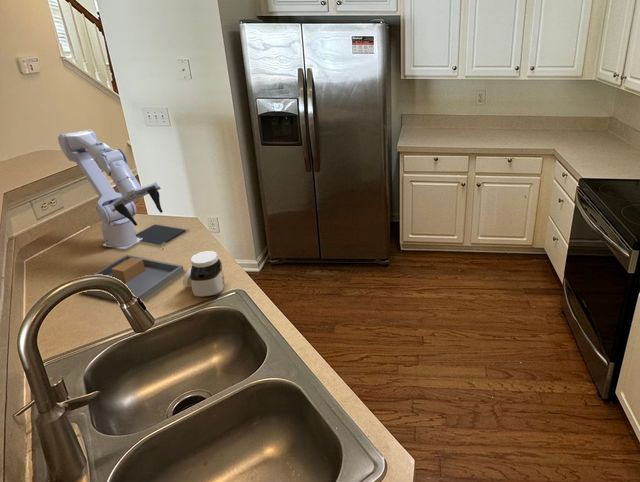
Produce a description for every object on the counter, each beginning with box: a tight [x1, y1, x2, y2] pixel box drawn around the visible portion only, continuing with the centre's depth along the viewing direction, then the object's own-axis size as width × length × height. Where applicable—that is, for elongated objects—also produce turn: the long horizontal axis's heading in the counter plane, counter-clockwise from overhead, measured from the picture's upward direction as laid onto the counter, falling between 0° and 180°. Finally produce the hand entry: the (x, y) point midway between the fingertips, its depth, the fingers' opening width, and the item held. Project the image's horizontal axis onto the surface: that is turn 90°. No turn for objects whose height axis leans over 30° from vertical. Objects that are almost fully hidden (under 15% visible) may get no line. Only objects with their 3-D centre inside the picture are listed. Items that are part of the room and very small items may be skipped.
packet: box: [111, 257, 145, 283], centre depth 130 cm, size 4×7×4 cm, turn 164°
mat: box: [136, 224, 186, 246], centre depth 156 cm, size 14×12×1 cm
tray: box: [82, 254, 185, 302], centre depth 128 cm, size 22×18×3 cm
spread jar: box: [182, 250, 225, 300], centre depth 124 cm, size 12×11×12 cm
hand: (148, 217), depth 132 cm, fingers open, 7 cm apart
